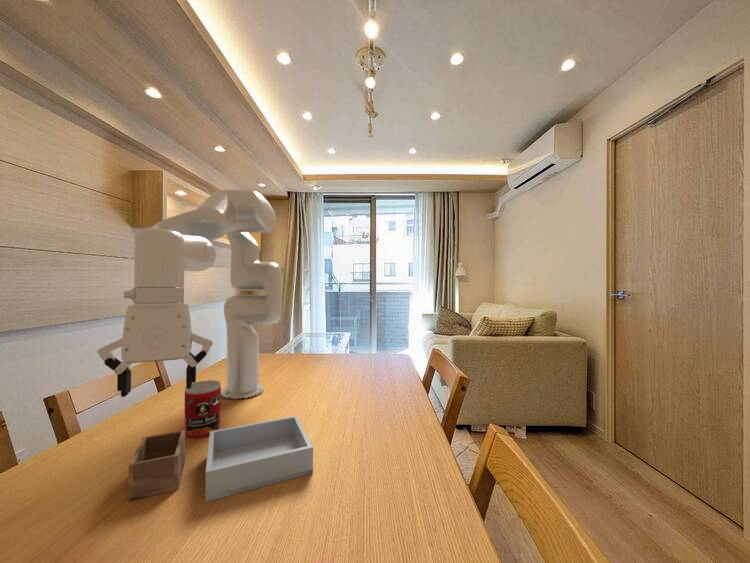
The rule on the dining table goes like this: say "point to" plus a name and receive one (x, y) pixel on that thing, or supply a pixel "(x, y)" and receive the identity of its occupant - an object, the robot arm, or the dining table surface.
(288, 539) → the dining table surface
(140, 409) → the dining table surface
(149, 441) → the small crate
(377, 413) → the dining table surface
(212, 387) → the canned food
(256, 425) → the large crate
